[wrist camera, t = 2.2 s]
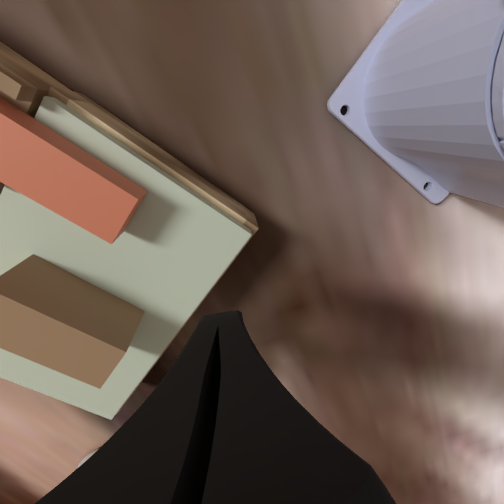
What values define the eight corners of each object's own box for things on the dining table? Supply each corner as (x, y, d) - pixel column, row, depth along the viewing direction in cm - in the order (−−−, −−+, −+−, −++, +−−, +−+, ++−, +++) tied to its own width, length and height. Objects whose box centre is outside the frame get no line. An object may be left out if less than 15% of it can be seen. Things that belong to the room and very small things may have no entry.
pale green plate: (250, 229, 16) (257, 261, 12) (115, 408, 20) (90, 472, 16) (54, 97, 13) (-16, 85, 9) (-56, 341, 17) (-134, 401, 13)
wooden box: (254, 213, 18) (258, 228, 16) (130, 378, 23) (117, 413, 20) (82, 93, 15) (50, 86, 12) (-22, 312, 20) (-63, 342, 17)
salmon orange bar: (148, 191, 14) (138, 199, 12) (123, 232, 14) (111, 244, 13) (-102, 31, 11) (-154, 17, 9) (-118, 91, 11) (-169, 86, 10)
